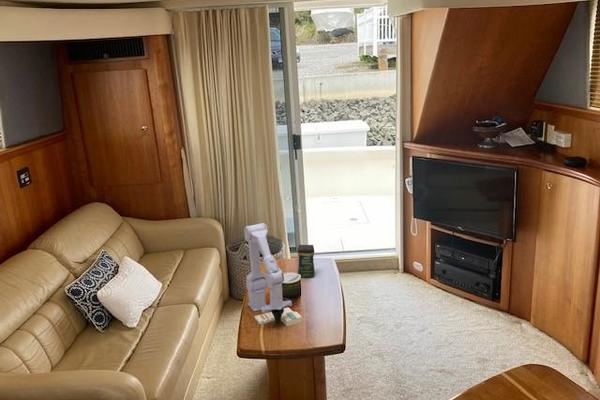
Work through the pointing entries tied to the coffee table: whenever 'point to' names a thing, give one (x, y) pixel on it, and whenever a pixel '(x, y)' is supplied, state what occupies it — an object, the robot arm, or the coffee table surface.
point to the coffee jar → (306, 261)
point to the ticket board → (269, 316)
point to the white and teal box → (291, 318)
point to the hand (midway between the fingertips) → (277, 322)
